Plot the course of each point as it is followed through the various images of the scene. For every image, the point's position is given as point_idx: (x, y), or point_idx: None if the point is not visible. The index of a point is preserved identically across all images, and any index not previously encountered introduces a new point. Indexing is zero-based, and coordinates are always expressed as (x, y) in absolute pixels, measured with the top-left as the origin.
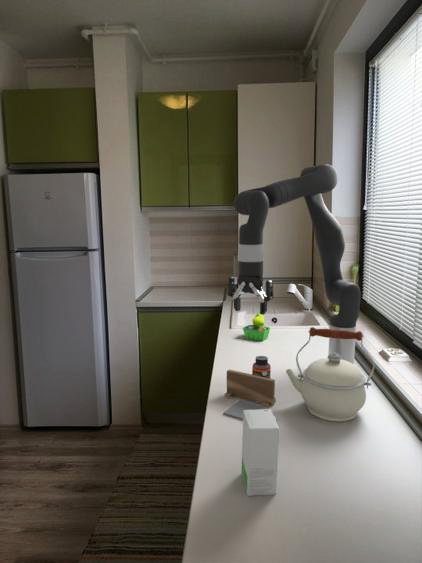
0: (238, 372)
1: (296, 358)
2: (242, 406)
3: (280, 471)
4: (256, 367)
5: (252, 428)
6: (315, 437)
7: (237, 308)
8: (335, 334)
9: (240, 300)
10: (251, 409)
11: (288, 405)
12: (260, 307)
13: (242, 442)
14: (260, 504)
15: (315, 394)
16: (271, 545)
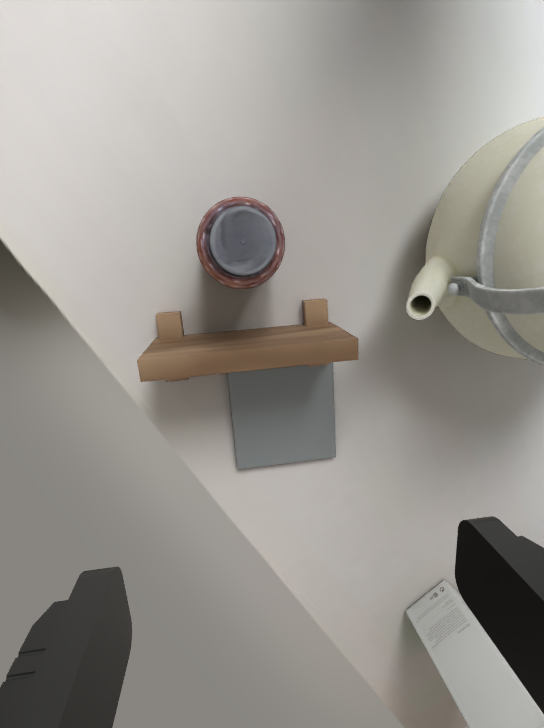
0: (193, 365)
1: (497, 311)
2: (262, 406)
3: None
4: (238, 286)
5: None
6: (489, 416)
7: (123, 665)
8: None
9: (64, 716)
10: (294, 405)
11: (369, 299)
12: (522, 674)
13: (441, 676)
14: None
15: (522, 357)
16: None
